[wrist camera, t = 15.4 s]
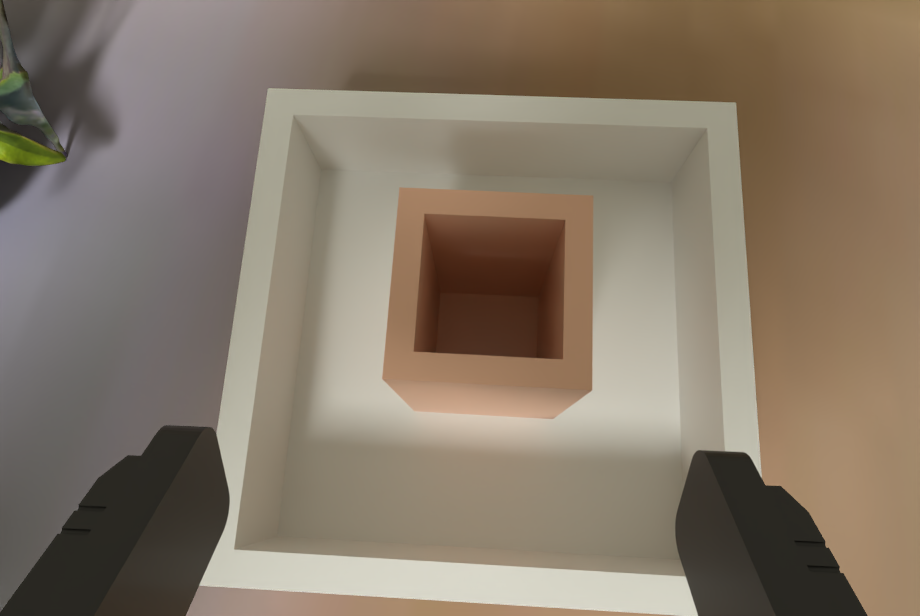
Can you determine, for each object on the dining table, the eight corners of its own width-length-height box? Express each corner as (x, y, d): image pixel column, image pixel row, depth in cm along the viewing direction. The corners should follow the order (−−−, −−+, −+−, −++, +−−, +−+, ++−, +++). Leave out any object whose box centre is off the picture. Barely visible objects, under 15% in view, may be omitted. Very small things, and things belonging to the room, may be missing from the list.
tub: (414, 411, 23) (381, 378, 15) (424, 279, 24) (399, 187, 16) (552, 419, 22) (592, 390, 15) (555, 286, 24) (593, 195, 16)
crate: (254, 561, 22) (193, 585, 18) (306, 158, 27) (267, 88, 22) (706, 588, 22) (771, 621, 17) (687, 171, 26) (736, 102, 21)
